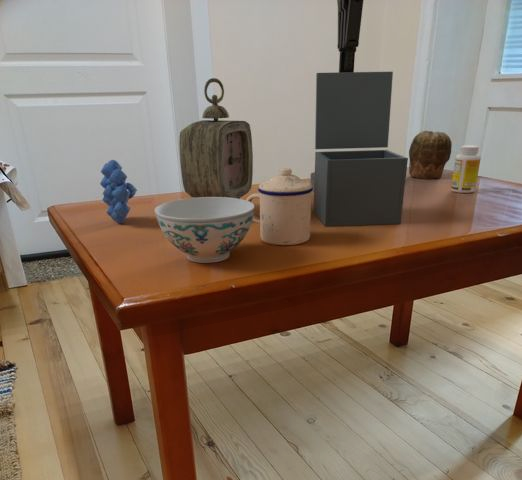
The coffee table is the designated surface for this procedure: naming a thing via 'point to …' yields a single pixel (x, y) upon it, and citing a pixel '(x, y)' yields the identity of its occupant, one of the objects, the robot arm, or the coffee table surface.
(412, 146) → the brown rounded lump
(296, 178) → the teacup with lid
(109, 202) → the grapes
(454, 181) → the supplement bottle
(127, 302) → the coffee table surface
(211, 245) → the chinaware
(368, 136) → the chest lid
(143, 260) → the coffee table surface
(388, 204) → the chest
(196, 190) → the tabletop clock
